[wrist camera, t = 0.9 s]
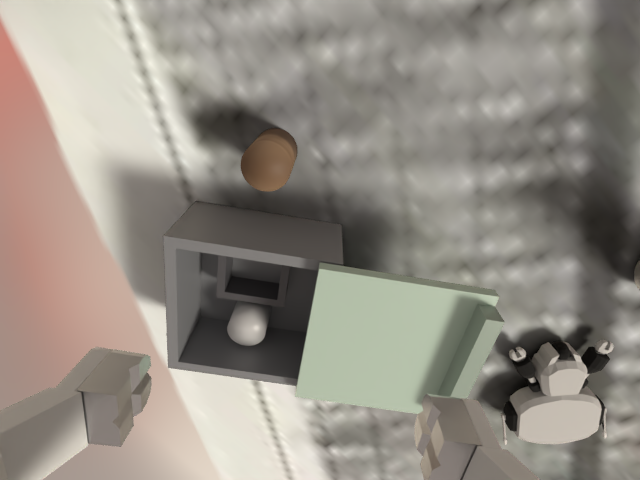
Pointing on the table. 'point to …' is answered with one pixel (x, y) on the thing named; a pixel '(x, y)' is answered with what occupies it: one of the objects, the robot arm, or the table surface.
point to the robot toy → (556, 394)
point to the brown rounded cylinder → (269, 160)
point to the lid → (394, 338)
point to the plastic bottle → (637, 275)
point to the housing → (243, 290)
